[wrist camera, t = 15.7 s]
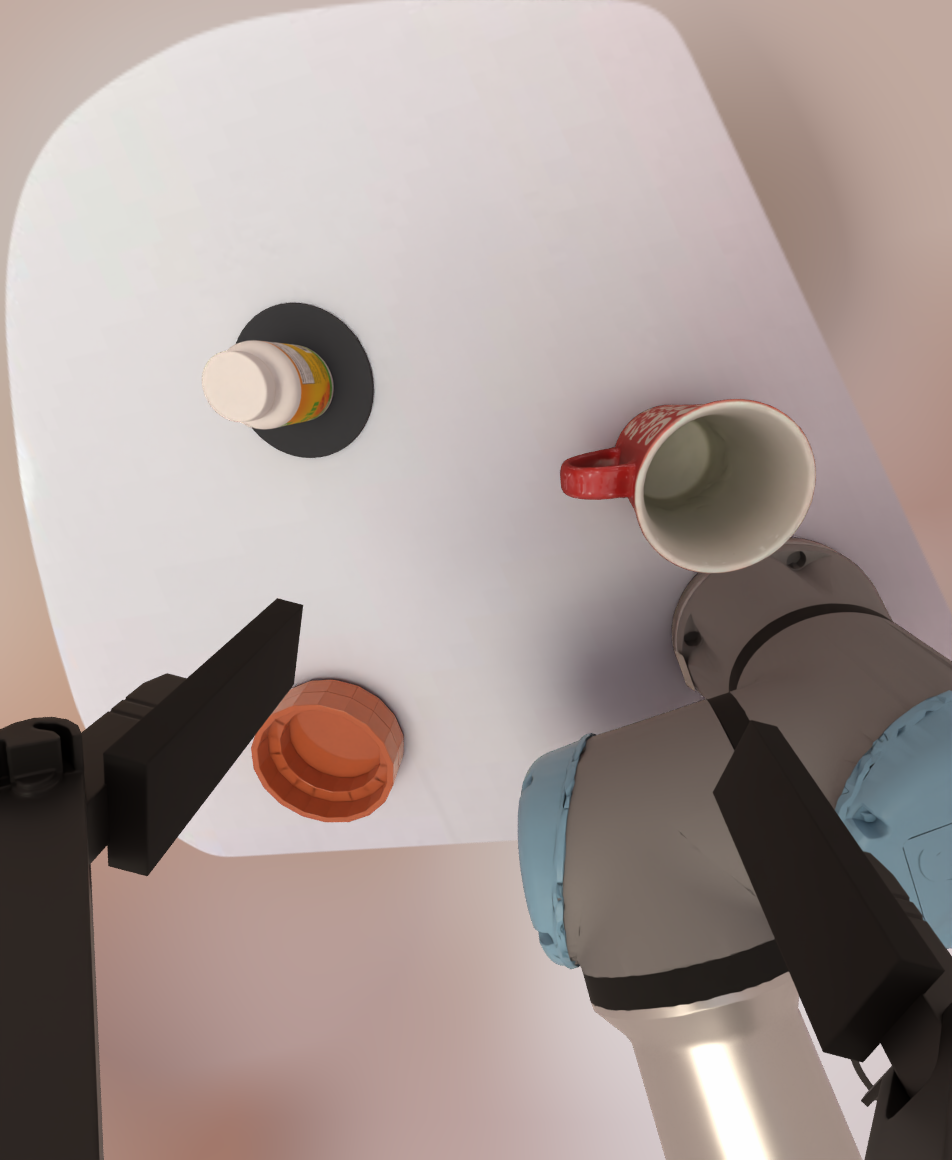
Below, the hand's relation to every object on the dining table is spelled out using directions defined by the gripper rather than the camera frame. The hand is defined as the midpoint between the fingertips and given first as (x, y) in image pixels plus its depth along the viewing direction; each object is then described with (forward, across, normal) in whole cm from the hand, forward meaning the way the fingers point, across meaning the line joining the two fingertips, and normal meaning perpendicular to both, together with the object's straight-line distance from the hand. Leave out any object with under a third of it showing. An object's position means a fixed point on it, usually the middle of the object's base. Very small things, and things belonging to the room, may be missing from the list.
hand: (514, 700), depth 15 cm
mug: (+29, +8, +5) cm, 30 cm away
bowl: (+29, -12, -28) cm, 42 cm away
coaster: (+29, -19, +4) cm, 34 cm away
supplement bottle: (+28, -19, +4) cm, 34 cm away
